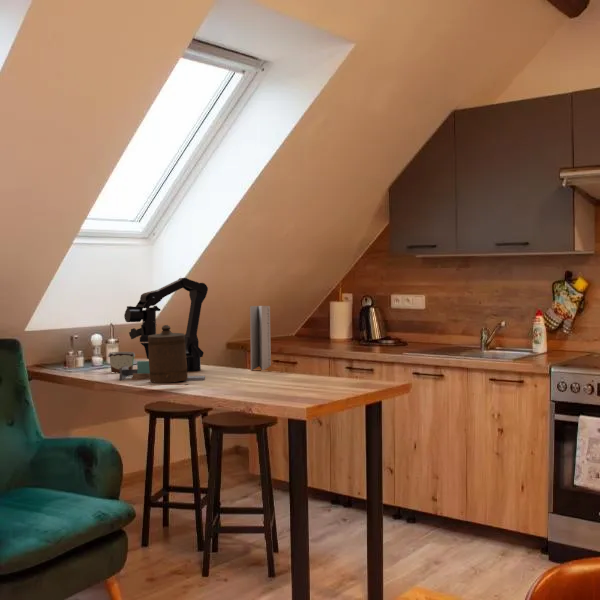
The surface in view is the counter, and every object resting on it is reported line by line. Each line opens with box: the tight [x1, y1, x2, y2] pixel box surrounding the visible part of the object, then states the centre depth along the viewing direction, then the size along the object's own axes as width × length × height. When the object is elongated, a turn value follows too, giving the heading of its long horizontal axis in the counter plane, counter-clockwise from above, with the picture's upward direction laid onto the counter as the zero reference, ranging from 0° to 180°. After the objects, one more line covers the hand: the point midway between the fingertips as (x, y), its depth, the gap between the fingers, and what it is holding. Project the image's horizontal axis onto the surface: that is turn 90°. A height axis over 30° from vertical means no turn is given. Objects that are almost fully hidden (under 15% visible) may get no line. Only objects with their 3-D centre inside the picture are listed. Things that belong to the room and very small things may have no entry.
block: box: [136, 360, 150, 374], centre depth 338 cm, size 10×3×7 cm, turn 95°
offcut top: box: [132, 373, 150, 378], centre depth 329 cm, size 12×3×2 cm, turn 97°
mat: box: [183, 375, 206, 382], centre depth 323 cm, size 12×10×1 cm
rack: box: [119, 365, 137, 381], centre depth 336 cm, size 22×20×5 cm
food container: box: [107, 351, 136, 372], centre depth 358 cm, size 12×6×10 cm, turn 84°
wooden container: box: [148, 324, 189, 384], centre depth 313 cm, size 15×15×22 cm
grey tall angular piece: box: [249, 305, 272, 371], centre depth 349 cm, size 14×6×30 cm, turn 168°
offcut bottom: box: [130, 376, 150, 381], centre depth 329 cm, size 13×4×2 cm, turn 94°
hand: (149, 358), depth 338 cm, fingers open, 9 cm apart
